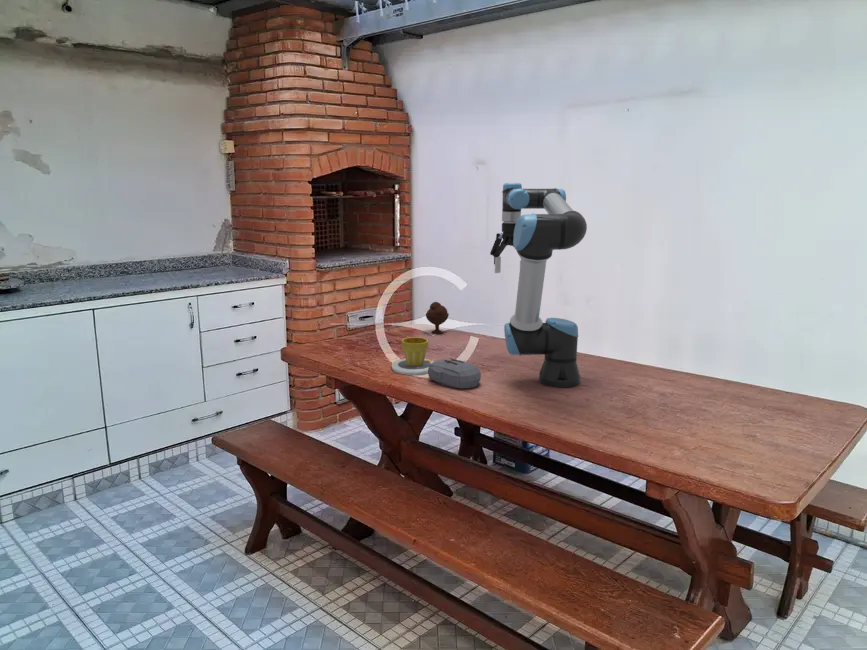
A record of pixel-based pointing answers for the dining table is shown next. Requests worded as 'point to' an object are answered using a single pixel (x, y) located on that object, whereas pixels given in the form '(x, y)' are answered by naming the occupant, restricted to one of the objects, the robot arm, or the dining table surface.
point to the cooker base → (411, 367)
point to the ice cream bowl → (437, 316)
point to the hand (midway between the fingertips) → (509, 274)
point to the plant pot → (415, 350)
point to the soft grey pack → (454, 373)
